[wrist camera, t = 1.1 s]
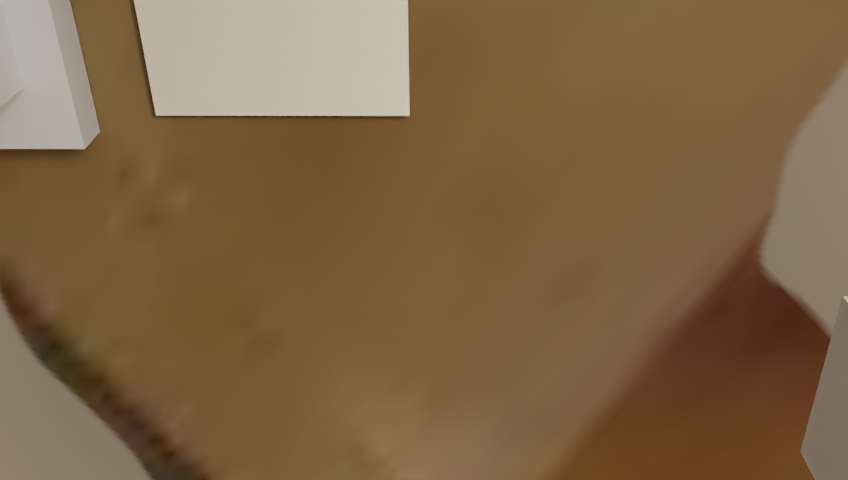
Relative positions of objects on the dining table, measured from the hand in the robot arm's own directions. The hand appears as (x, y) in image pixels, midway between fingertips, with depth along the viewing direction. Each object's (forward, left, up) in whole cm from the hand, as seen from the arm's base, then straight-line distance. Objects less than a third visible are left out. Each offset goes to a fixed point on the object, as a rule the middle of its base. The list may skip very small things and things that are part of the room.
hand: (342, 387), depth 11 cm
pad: (+1, -6, -28) cm, 28 cm away
